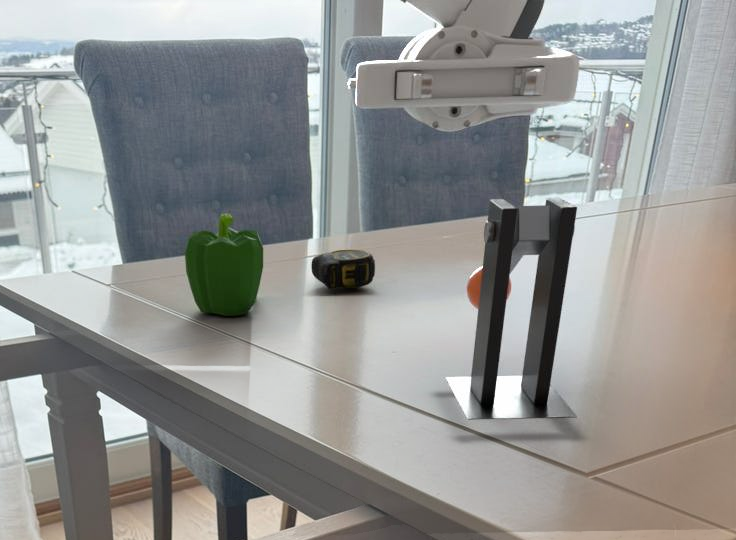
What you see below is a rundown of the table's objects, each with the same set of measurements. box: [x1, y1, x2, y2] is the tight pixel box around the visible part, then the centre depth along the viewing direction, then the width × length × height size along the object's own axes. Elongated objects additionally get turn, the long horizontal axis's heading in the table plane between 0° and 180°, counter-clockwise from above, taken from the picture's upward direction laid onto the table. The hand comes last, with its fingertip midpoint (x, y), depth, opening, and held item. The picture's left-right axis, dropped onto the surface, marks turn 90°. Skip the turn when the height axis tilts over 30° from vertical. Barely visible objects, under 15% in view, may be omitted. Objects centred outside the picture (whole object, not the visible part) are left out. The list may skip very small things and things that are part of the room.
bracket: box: [445, 197, 578, 420], centre depth 68 cm, size 10×8×15 cm
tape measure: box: [311, 249, 376, 290], centre depth 108 cm, size 7×7×4 cm
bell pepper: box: [184, 213, 264, 317], centre depth 98 cm, size 8×8×10 cm
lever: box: [466, 204, 550, 310], centre depth 71 cm, size 15×4×4 cm
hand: (478, 84), depth 80 cm, fingers open, 8 cm apart
